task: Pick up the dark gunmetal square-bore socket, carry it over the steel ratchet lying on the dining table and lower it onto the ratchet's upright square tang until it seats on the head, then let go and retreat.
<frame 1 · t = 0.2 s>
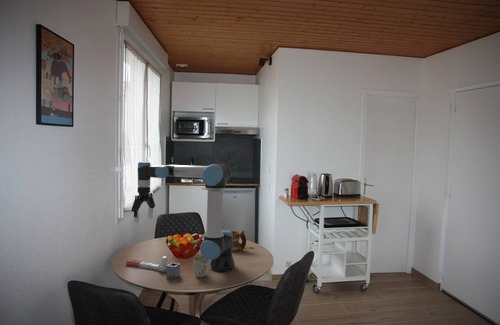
hand: (143, 220, 199), 28 cm above the table, fingers open, 13 cm apart
mug 2: (235, 250, 231), on the table
mug: (202, 276, 183), on the table
ratchet: (164, 270, 190), on the table
socket: (173, 276, 181), on the table
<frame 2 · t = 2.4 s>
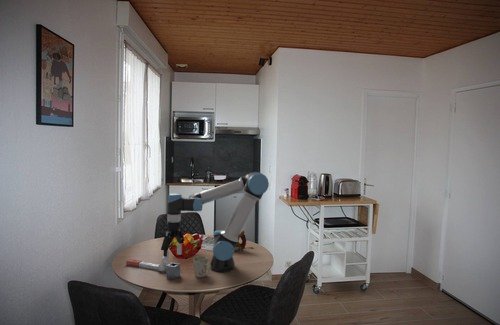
hand: (172, 258, 181), 11 cm above the table, fingers open, 13 cm apart
nothing on the table moved.
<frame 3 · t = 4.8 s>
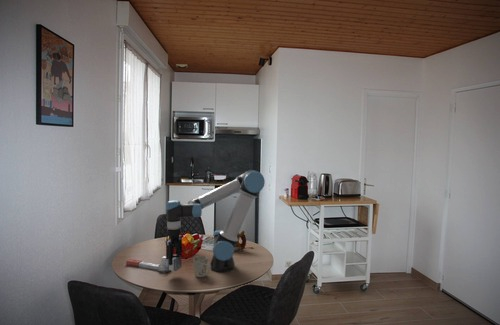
hand: (174, 268, 181), 5 cm above the table, fingers closed on socket, 6 cm apart
socket: (174, 268, 181), point 5 cm above the table, touching gripper
everything else where it was.
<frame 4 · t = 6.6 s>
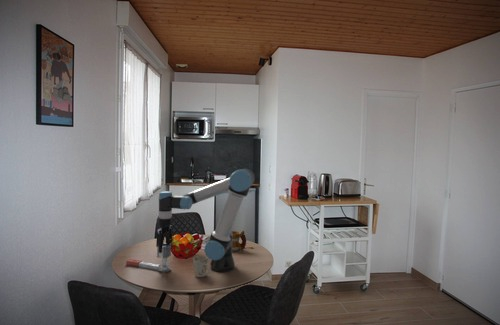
hand: (164, 255, 190), 9 cm above the table, fingers closed on socket, 6 cm apart
socket: (164, 256, 190), point 8 cm above the table, touching gripper
everything else where it was.
when the fingers open (4 cm above the table, at t = 8.7 s): socket stays where it is, resting on ratchet.
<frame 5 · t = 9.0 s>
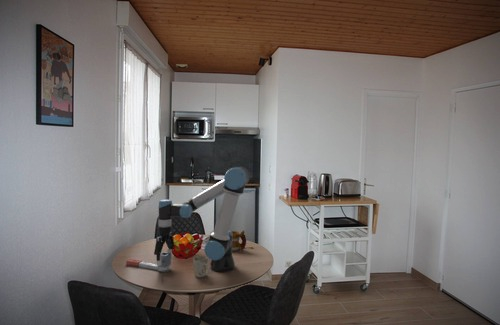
hand: (164, 262, 190), 5 cm above the table, fingers open, 10 cm apart
socket: (164, 265, 190), point 3 cm above the table, touching ratchet
everything else where it was.
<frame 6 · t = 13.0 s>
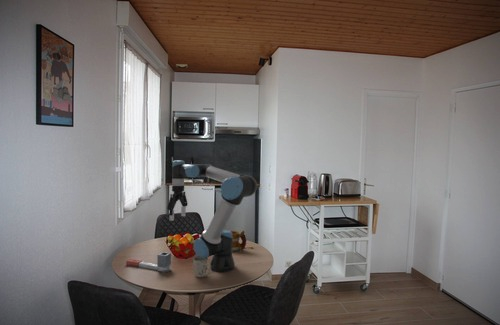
hand: (177, 218, 202), 29 cm above the table, fingers open, 13 cm apart
nothing on the table moved.
at the end: socket 0.2 cm off-centre on the ratchet, point 3.0 cm above the ratchet's base; socket tilted 0°; the gripper is holding nothing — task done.
